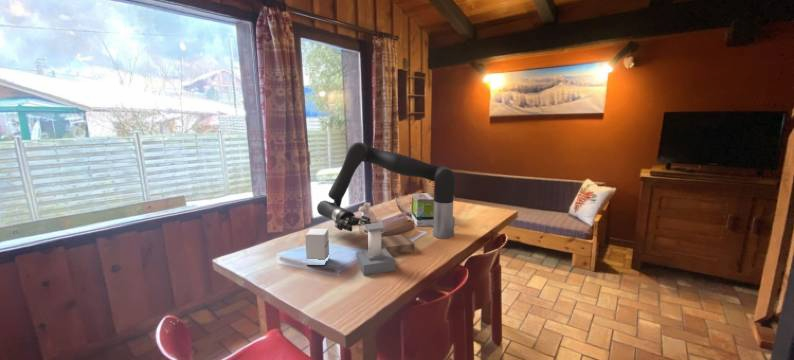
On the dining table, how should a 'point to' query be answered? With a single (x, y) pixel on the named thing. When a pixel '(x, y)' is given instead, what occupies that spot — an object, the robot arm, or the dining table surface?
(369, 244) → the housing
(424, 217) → the tea box
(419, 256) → the dining table surface
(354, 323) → the dining table surface
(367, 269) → the stand
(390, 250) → the stand
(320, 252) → the supplement box
